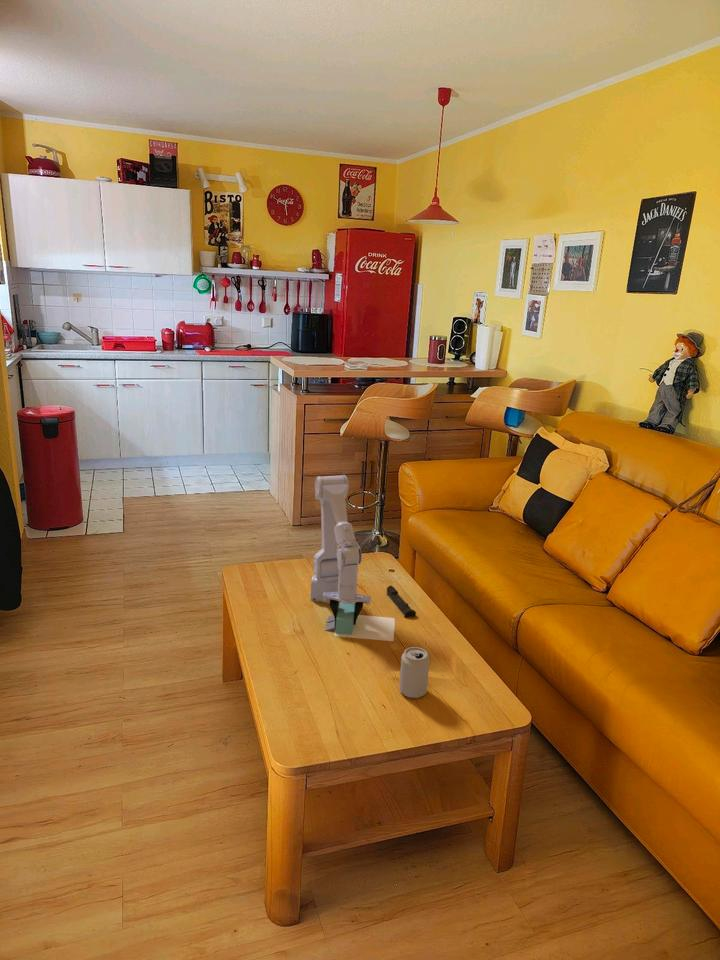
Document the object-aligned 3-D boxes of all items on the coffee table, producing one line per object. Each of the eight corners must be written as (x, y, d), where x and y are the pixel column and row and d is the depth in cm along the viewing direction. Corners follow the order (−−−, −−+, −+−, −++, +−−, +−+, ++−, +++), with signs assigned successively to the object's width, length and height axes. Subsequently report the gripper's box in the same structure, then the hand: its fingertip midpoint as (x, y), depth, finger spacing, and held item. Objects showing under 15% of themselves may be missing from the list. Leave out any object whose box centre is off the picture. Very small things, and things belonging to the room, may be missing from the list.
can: (418, 703, 172) (422, 663, 168) (393, 693, 176) (396, 654, 172) (431, 689, 178) (435, 650, 174) (406, 680, 182) (410, 641, 178)
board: (333, 640, 199) (334, 635, 199) (339, 617, 213) (339, 613, 212) (393, 645, 198) (393, 641, 198) (394, 622, 212) (395, 618, 211)
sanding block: (335, 633, 200) (336, 618, 199) (339, 615, 211) (340, 601, 209) (351, 634, 200) (352, 620, 199) (355, 616, 210) (355, 602, 209)
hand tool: (415, 621, 213) (417, 608, 212) (404, 622, 212) (405, 609, 211) (394, 594, 230) (395, 582, 229) (383, 595, 229) (384, 583, 228)
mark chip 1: (324, 626, 207) (323, 623, 206) (327, 620, 210) (326, 617, 210) (336, 623, 206) (334, 620, 205) (339, 617, 209) (337, 614, 209)
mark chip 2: (323, 634, 202) (322, 631, 202) (324, 628, 206) (323, 624, 205) (335, 630, 202) (334, 627, 201) (336, 624, 205) (334, 621, 205)
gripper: (322, 586, 198) (320, 626, 202) (370, 590, 197) (367, 631, 201) (325, 576, 204) (323, 615, 208) (371, 580, 204) (369, 619, 208)
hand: (345, 622), depth 205 cm, fingers closed on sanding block, 5 cm apart
